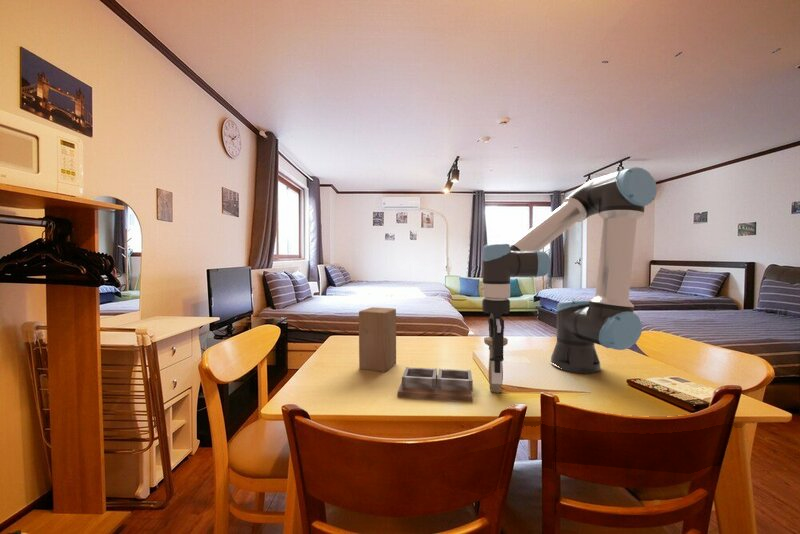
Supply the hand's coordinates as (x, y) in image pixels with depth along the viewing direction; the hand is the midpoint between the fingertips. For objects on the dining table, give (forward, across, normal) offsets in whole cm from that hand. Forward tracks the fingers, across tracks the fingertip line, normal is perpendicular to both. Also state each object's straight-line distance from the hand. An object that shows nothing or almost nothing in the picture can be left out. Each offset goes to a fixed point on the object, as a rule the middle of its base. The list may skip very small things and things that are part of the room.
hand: (495, 380), depth 93 cm
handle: (+3, 0, 0) cm, 3 cm away
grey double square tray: (+3, +1, -17) cm, 17 cm away
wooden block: (+3, -16, -38) cm, 41 cm away
